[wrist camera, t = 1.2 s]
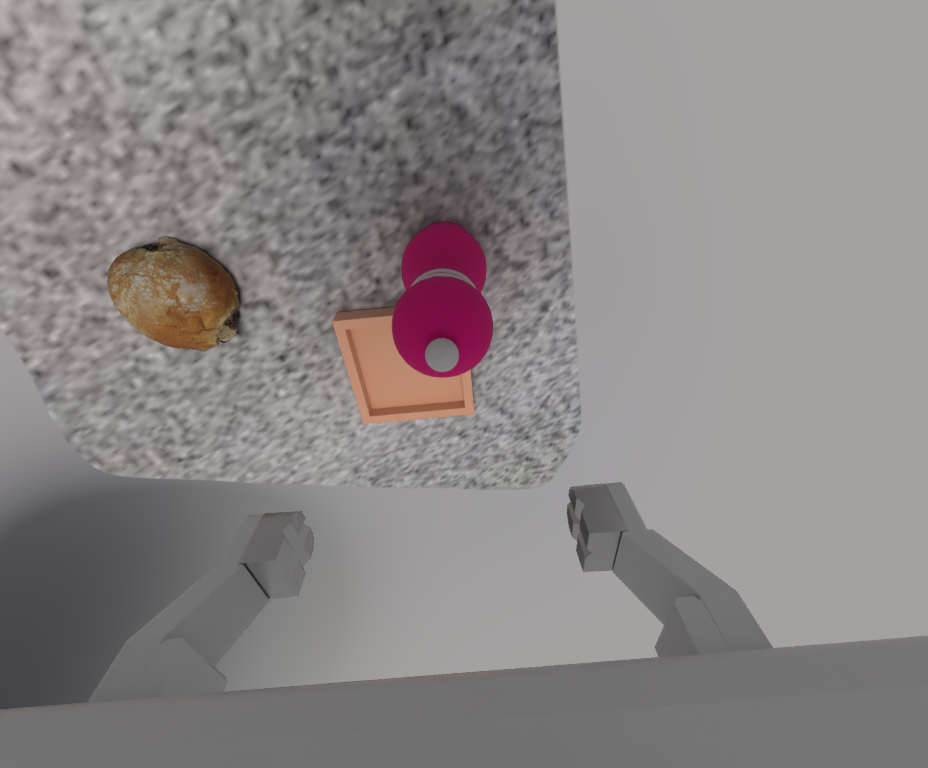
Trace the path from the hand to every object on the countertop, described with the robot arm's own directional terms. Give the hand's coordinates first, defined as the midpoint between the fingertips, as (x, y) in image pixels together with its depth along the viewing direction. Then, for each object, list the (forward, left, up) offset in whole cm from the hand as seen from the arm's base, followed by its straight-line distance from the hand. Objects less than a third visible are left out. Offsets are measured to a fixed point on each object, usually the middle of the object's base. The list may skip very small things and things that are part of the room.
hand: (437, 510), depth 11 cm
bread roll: (+1, -25, -29) cm, 38 cm away
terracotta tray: (+11, -5, -29) cm, 31 cm away
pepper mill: (0, 0, -29) cm, 29 cm away
